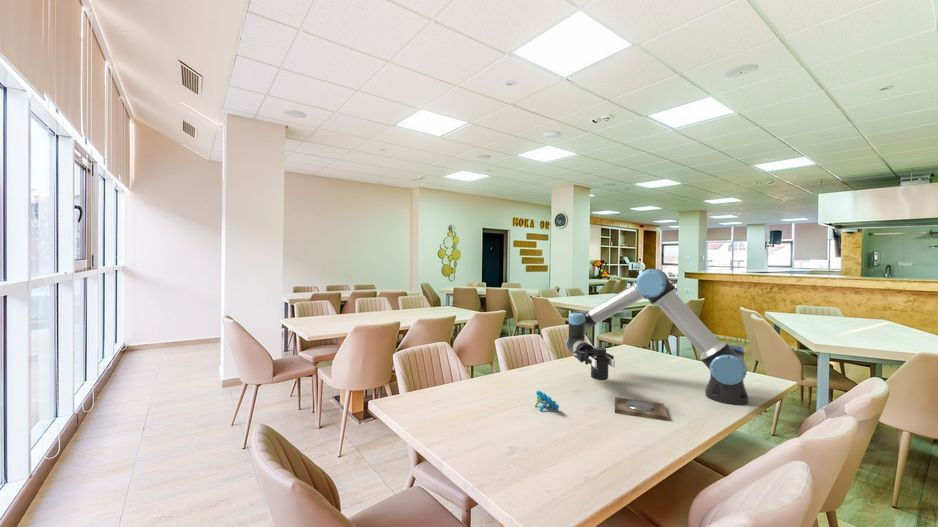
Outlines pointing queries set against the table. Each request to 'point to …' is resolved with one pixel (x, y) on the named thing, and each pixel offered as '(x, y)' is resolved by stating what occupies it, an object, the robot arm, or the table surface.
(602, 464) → the table surface
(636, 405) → the walnut board
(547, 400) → the gear
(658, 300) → the robot arm
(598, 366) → the supplement bottle
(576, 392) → the table surface
